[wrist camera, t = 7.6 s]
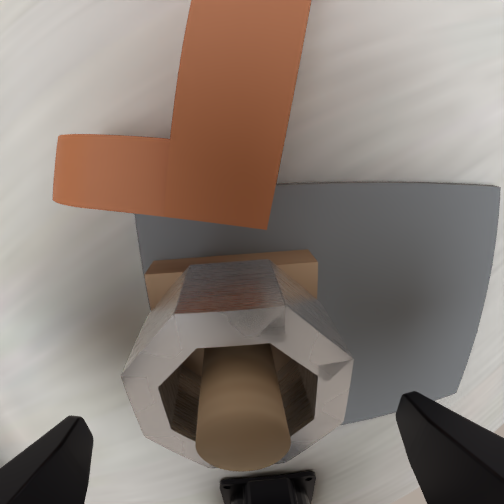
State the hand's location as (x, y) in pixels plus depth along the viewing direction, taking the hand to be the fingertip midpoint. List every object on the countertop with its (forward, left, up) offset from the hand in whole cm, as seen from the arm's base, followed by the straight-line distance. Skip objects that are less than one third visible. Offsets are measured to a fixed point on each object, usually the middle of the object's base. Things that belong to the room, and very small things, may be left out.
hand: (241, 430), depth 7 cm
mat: (-1, -5, -7) cm, 8 cm away
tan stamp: (0, 0, -6) cm, 6 cm away
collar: (0, 0, -4) cm, 5 cm away
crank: (+15, +1, -6) cm, 17 cm away
